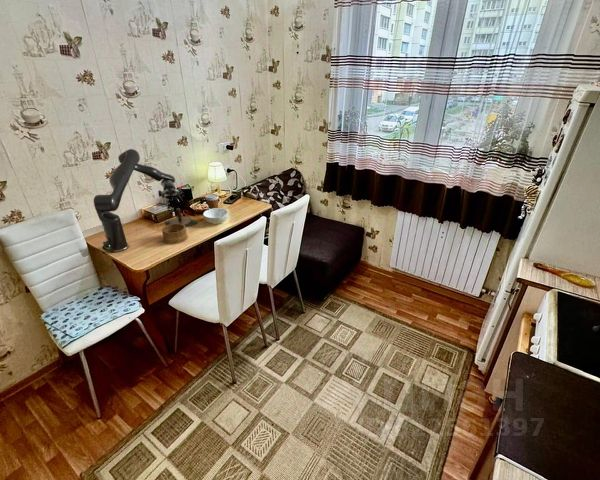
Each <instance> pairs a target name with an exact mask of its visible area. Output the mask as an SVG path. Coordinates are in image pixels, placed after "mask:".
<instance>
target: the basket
mask: <svg viewBox="0 0 600 480" xmlns="http://www.w3.org/2000/svg"><path fill="white" fill-rule="evenodd" d="M161 232H162V237H163V241H164V243H166V244H168V245H176V244H181V243H184V242H185V241H186V240H187V239H188V233H187V227H185V225H183V224H179V223H175V224H170V225H167V224H166V225H165V226H163V227H162V228H161Z"/></svg>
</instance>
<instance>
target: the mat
mask: <svg viewBox="0 0 600 480" xmlns="http://www.w3.org/2000/svg"><path fill="white" fill-rule="evenodd" d="M184 217H189V216H188V215H185V216H184ZM191 220H192V221H191V222H190V223H189V224H187V225H185V227H186V228H187V227H191V226H193V225H197V224H198V223H197V222H196V221H195V220H193V219H192V218H191ZM169 222H170V220H166V221H164V223H165V224H166V226H167V225H170V223H169Z"/></svg>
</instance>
